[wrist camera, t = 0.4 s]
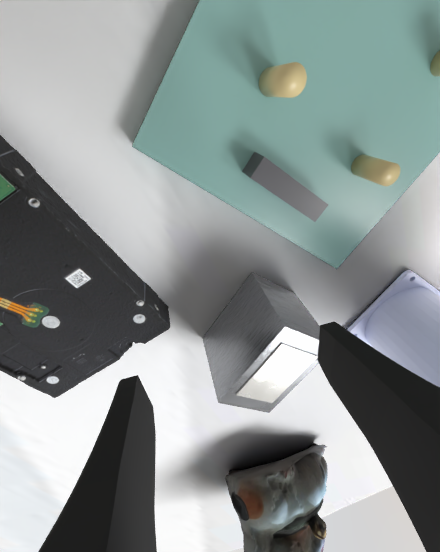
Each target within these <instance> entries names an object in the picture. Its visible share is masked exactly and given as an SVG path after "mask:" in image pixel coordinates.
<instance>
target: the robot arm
mask: <svg viewBox="0 0 440 552" xmlns="http://www.w3.org/2000/svg"><path fill="white" fill-rule="evenodd" d="M317 360H318V362H319V364H320V366H321V368H322V370H323V372H324V374H325V376H326V378H327V379H328V381H329V383H330V385H331V386H332V388H333V389H334V391H335V392H336V394H337V395H338V397H339V398H340V400H341V401H342V403H343V404H344V406H345V407H346V409H347V410H348V412H349V413H350V415H351V416H352V418H353V419H354V421H355V422H356V424H357V425H358V427H359V428H360V430H361V431H362V433H363V434H364V436H365V437H366V439H367V440H368V442H369V444H370V445H371V447H372V448H373V450H374V452H375V454H376V455H377V457H378V459H379V461H380V463H381V464H382V466H383V468H384V470H385V472H386V473H387V475H388V477H389V479H390V481H391V483H392V485H393V487H394V488H395V490H396V492H397V494H398V496H399V498H400V500H401V502H402V503H403V505H404V507H405V509H406V511H407V513H408V515H409V517H410V519H411V521H412V523H413V525H414V527H415V529H416V531H417V533H418V535H419V537H420V539H421V541H422V543H423V545H424V547H425V550H426V552H440V291H439V290H437V289H436V288H435V287H433V286H432V285H431V284H429V283H428V282H427V281H425V280H424V279H422V278H421V277H420V276H418V275H417V274H416V273H414V272H413V271H411V270H406V271H404V272H403V273H402V274H401V275H400V276H399V277H398V278H397V279H396V280H395V281H394V282H393V283H392V284H391V285H390V286H389V287H388V288H387V289H386V290H385V291H384V292H383V293H382V294H381V295H380V297H379V298H378V299H377V300H376V301H375V302H374V303H373V304H372V305H371V306H370V307H369V308H368V309H367V310H366V311H365V312H364V313H363V314H362V315H361V316H360V317H359V318H358V319H357V320H356V321H355V322H354V323H353V324H352V325H351V326H350V327H349V328H348V329H347V330H346V329H345V328H343V327H342V326H340V325H339V324H337V323H336V322H331V323H327V324H324V325H320V333H319V346H318V358H317ZM154 495H155V423H154V413H153V406H152V404H151V402H150V400H149V398H148V396H147V393H146V391H145V389H144V387H143V385H142V383H141V381H140V379H139V377H138V375H137V376H133V377H130V378H126V379H122V380H121V381H120V382H119V384H118V387H117V390H116V393H115V396H114V398H113V401H112V404H111V406H110V409H109V412H108V414H107V417H106V419H105V422H104V424H103V426H102V429H101V431H100V434H99V436H98V438H97V441H96V443H95V445H94V448H93V450H92V452H91V454H90V456H89V458H88V460H87V463H86V465H85V467H84V469H83V471H82V473H81V475H80V477H79V479H78V481H77V483H76V485H75V487H74V489H73V491H72V493H71V495H70V497H69V499H68V501H67V503H66V504H65V506H64V508H63V510H62V512H61V514H60V515H59V517H58V519H57V521H56V523H55V524H54V526H53V528H52V530H51V531H50V533H49V535H48V536H47V538H46V540H45V542H44V543H43V545H42V547H41V548H40V550H39V552H157V551H156V535H155V515H154Z"/></svg>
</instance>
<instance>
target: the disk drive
mask: <svg viewBox="0 0 440 552" xmlns="http://www.w3.org/2000/svg"><path fill="white" fill-rule="evenodd" d="M169 328H170V318H169V311H168V306H167V305H166V304H164V302H163V301H162V300H161V299H160V298H159V297H158V295H157V294H156V293H155V292H154V291H153V290H152V289H151V288H150V287H149V286H148V285H147V284H146V283H144V282H143V281H142V280H141V279H140V278H139V277H138V276H137V275H136V274H135V273H134V272H133V271H132V270H131V269H130V268H129V266H128V265H127V264H126V263H124V261H123V260H122V259H121V258H120V257H119V256H118V255H117V254H116V253H115V252H114V251H113V250H112V249H111V248H110V247H109V246H108V245H107V244H106V243H105V242H104V241H103V240H102V239H101V238H100V237H99V236H98V235H97V234H96V233H95V232H94V231H93V230H92V229H91V228H90V227H89V226H88V225H87V223H86V222H85V221H84V220H82V219H81V218H80V217H79V216H78V215H77V214H76V212H75V211H74V210H73V209H72V208H71V207H70V206H69V205H68V204H66V203H65V201H64V200H63V199H62V198H61V197H60V196H59V195H58V194H57V193H56V192H55V191H54V190H53V189H52V188H51V187H50V186H49V185H48V184H47V183H46V182H45V181H44V180H43V179H42V178H41V176H40V175H38V174H37V173H36V170H35V169H34V168H33V167H32V166H31V164H30V163H29V162H27V161H26V160H25V159H24V157H23V156H21V155H20V154H19V153H18V151H17V150H15V149H13V148H12V147H11V146H10V145H9V144H8V143H7V142H6V141H5V139H4V138H3V137H2V136H1V135H0V370H1V371H3V372H5V373H7V374H8V375H10V376H12V377H14V378H16V379H19V380H20V381H22V382H24V383H25V384H27V385H28V386H31V387H33V388H35V389H37V390H39V391H41V392H43V393H46V394H48V395H50V396H52V397H54V398H55V397H58V396H60V395H61V394H63V393H65V392H66V391H68V390H69V389H71V388H73V387H74V386H76V385H77V384H78V383H81V382H82V381H84V380H86V379H87V378H89V377H91V376H92V375H94V374H95V373H97V372H99V371H101V370H102V369H104V368H106V367H107V366H109V365H111V364H112V363H114V362H116V361H117V360H119V359H120V357H121V356H122V355H123V354H124V353H125V352H126V351H127V350H128V349H129V348H130V347H131V346H132V343H133V342H135V343H144V344H145V343H147V342H148V341H150V340H152V339H153V338H155V337H157V336H158V335H160V334H161V333H163V332H164V331H167V330H168V329H169Z"/></svg>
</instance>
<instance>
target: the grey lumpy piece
mask: <svg viewBox="0 0 440 552" xmlns="http://www.w3.org/2000/svg"><path fill="white" fill-rule="evenodd" d="M325 447H326V446H325V445H317V444H315V443H313V445H312V446H311V447H310V448H308V449H306V450H304V451H301V452H299V453H297V454H294V455H292V456H290V457H287V458H285V459H283V460H279V461H275V462H272V463H268V464H264V465H260V466H257V467H253V468H249V469H245V470H232V471H230V472H229V475H227V476H226V477H225V479H226V482H227V485H228V490H229V494H230V497H231V500H232V503H233V506H234V509H235V510H236V512H237V514H238V516H239V519H240V523H241V528H242V531H243V535H244V552H323V548H324V542H325V537H326V524H325V522H324V521H323V520H322V519H321V518H320V517H319V515H318V511H319V510H320V508H321V506H322V503H323V497H324V495H325V492H326V481H327V463H326V461H325V460H324V457H322V455H323V453H324V451H325V449H324V448H325Z"/></svg>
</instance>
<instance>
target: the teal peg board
mask: <svg viewBox="0 0 440 552" xmlns="http://www.w3.org/2000/svg"><path fill="white" fill-rule="evenodd" d="M132 147H134V148H136V149H137V150H139V151H141V152H142V153H144V154H146V155H147V156H149V157H151V158H152V159H154V160H156V161H157V162H159V163H161V164H162V165H164V166H166V167H167V168H169V169H171V170H172V171H174V172H176V173H177V174H179V175H181V176H182V177H184V178H186V179H187V180H189V181H191V182H192V183H194V184H196V185H197V186H199V187H201V188H202V189H204V190H206V191H207V192H209V193H211V194H212V195H214V196H216V197H217V198H219V199H221V200H222V201H224V202H226V203H227V204H229V205H231V206H232V207H234V208H236V209H237V210H239V211H241V212H242V213H244V214H246V215H247V216H249V217H251V218H252V219H254V220H256V221H257V222H259V223H261V224H262V225H264V226H266V227H267V228H269V229H271V230H272V231H274V232H276V233H277V234H279V235H281V236H282V237H284V238H286V239H287V240H289V241H291V242H292V243H294V244H296V245H297V246H299V247H301V248H302V249H304V250H306V251H307V252H309V253H311V254H313V255H314V256H316V257H318V258H319V259H321V260H323V261H324V262H326V263H328V264H329V265H331V266H333V267H334V268H336V269H337V268H338V267H339V266H340V265H341V264H342V263H343V262H344V260H345V259H346V258H347V257H348V256H349V255H350V254H351V252H352V251H353V250H354V249H355V248H356V247H357V246H358V245H359V243H360V242H361V241H362V240H363V239H364V238H365V237H366V235H367V234H368V233H369V232H370V231H371V230H372V229H373V227H374V226H375V225H376V224H377V223H378V222H379V221H380V219H381V218H382V217H383V216H384V215H385V214H386V213H387V211H388V210H389V209H390V208H391V207H392V206H393V205H394V204H395V202H396V201H397V200H398V199H399V198H400V197H401V196H402V194H403V193H404V192H405V191H406V190H407V189H408V188H409V186H410V185H411V184H412V183H413V182H414V181H415V180H416V178H417V177H418V176H419V175H420V174H421V173H422V172H423V170H424V169H425V168H426V167H427V166H428V165H429V164H430V163H431V161H432V160H433V159H434V158H435V157H436V156H437V155H438V153H439V152H440V0H199V2H198V4H197V6H196V8H195V10H194V13H193V15H192V17H191V19H190V21H189V23H188V26H187V28H186V30H185V32H184V34H183V36H182V38H181V41H180V43H179V45H178V47H177V49H176V51H175V54H174V56H173V58H172V60H171V62H170V64H169V67H168V69H167V71H166V73H165V75H164V77H163V79H162V82H161V84H160V86H159V88H158V90H157V92H156V95H155V97H154V99H153V101H152V103H151V105H150V108H149V110H148V112H147V114H146V116H145V118H144V120H143V123H142V125H141V127H140V129H139V131H138V133H137V136H136V138H135V140H134V142H133V145H132Z"/></svg>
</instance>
